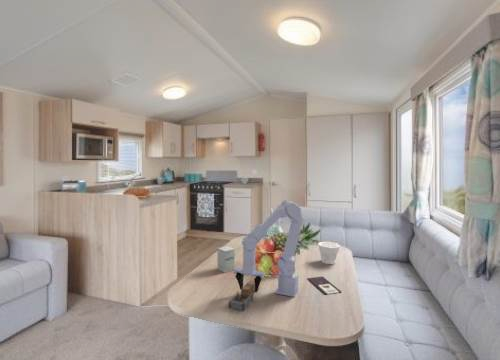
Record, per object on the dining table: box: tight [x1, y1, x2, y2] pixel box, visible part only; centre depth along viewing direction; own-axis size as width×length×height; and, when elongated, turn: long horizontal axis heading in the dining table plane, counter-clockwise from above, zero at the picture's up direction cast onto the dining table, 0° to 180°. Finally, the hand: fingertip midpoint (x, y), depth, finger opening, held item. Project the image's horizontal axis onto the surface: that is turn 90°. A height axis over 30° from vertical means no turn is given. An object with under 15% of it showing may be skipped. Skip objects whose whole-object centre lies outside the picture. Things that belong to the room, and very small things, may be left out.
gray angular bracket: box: [228, 291, 254, 312], centre depth 127 cm, size 8×10×3 cm
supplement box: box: [217, 245, 236, 273], centre depth 165 cm, size 7×7×13 cm
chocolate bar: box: [307, 276, 342, 296], centre depth 146 cm, size 9×1×18 cm
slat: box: [240, 280, 256, 301], centre depth 135 cm, size 10×4×5 cm, turn 157°
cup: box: [318, 241, 340, 265], centre depth 178 cm, size 12×12×11 cm
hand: (249, 290), depth 135 cm, fingers open, 7 cm apart
